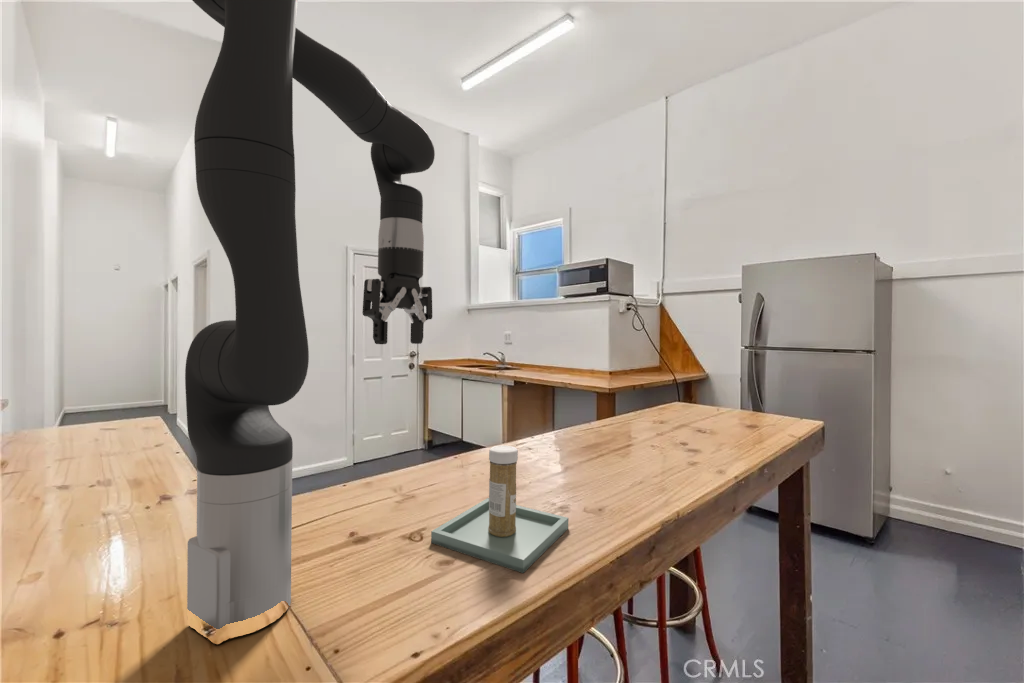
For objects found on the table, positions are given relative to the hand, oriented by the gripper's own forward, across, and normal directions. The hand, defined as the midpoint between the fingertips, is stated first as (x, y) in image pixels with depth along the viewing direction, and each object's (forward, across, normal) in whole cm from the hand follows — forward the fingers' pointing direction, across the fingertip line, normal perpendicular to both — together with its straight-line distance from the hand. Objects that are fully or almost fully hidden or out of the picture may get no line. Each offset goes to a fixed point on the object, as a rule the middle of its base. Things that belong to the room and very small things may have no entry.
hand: (399, 343), depth 76 cm
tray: (+30, +4, -19) cm, 36 cm away
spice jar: (+30, +4, -19) cm, 35 cm away
